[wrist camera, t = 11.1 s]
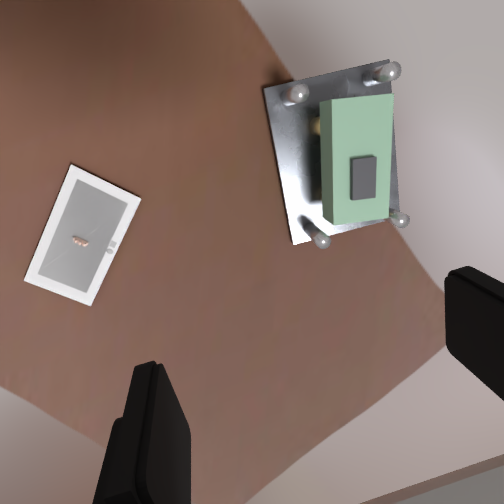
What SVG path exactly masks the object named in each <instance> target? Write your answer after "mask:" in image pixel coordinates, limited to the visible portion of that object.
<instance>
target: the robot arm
mask: <svg viewBox="0 0 504 504" xmlns="http://www.w3.org/2000/svg"><path fill="white" fill-rule="evenodd" d="M444 287H445V328H446V346H447V348H448V350H449V352H450V353H451V354H452V355H453V356H454V357H455V358H456V359H457V360H458V361H460V362H461V363H462V364H463V365H464V366H465V367H466V368H467V369H468V370H470V371H471V372H472V373H473V374H474V375H475V376H476V377H478V378H479V379H480V380H481V381H482V382H483V383H484V384H486V386H488V387H489V388H490V389H491V390H492V391H493V392H494V393H496V394H497V395H498V396H499V397H500V398H501V399H502V400H503V401H504V283H502V282H500V281H498V280H496V279H494V278H492V277H490V276H488V275H487V274H485V273H483V272H480V271H479V270H477V269H475V268H473V267H470V266H465V267H462V268H459V269H456V270H452V271H450V272H449V273H448V277H446V278H445V281H444ZM92 504H191V433H190V428H189V425H188V422H187V420H186V418H185V415H184V413H183V411H182V408H181V406H180V404H179V401H178V399H177V396H176V394H175V392H174V389H173V387H172V385H171V382H170V380H169V378H168V375H167V373H166V370H165V368H164V366H163V364H162V363H160V364H156V362H155V361H150V362H147V363H144V364H140V365H137V366H135V368H134V371H133V375H132V379H131V384H130V388H129V392H128V396H127V401H126V405H125V409H124V413H123V417H121V418H117V419H116V420H115V421H114V424H113V426H112V430H111V434H110V438H109V442H108V446H107V449H106V453H105V458H104V461H103V465H102V469H101V473H100V476H99V480H98V484H97V488H96V492H95V495H94V499H93V503H92ZM360 504H504V454H503V455H500V456H497V457H494V458H491V459H488V460H485V461H482V462H479V463H477V464H473V465H471V466H468V467H465V468H462V469H459V470H456V471H453V472H450V473H447V474H444V475H442V476H438V477H436V478H433V479H430V480H427V481H424V482H421V483H418V484H415V485H412V486H409V487H406V488H404V489H401V490H398V491H395V492H392V493H389V494H387V495H383V496H381V497H378V498H375V499H372V500H369V501H366V502H363V503H360Z"/></svg>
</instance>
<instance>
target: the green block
mask: <svg viewBox="0 0 504 504" xmlns="http://www.w3.org/2000/svg"><path fill="white" fill-rule="evenodd" d="M393 101H394V93H392V94H382V95H372V96H362V97H352V98H341V99H332V100H327V101H323V102H319V103H320V141H321V179H322V217H323V218H324V219H325V220H327V221H328V222H330V223H331V224H332V225H341V224H348V223H355V222H363V221H370V220H377V219H385V218H389V196H390V173H391V149H392V126H393V103H394V102H393Z"/></svg>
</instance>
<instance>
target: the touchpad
mask: <svg viewBox="0 0 504 504" xmlns="http://www.w3.org/2000/svg"><path fill="white" fill-rule="evenodd" d="M140 201H141V198H139V197H137V196H135V195H133V194H131V193H128V192H126V191H124V190H122V189H120V188H118V187H116V186H114V185H112V184H110V183H108V182H106V181H104V180H102V179H100V178H98V177H96V176H94V175H92V174H90V173H88V172H86V171H84V170H82V169H79V168H77V167H75V166H73V165H71V166H70V168H69V171H68V173H67V176H66V178H65V181H64V183H63V186H62V188H61V190H60V193H59V195H58V198H57V200H56V203H55V205H54V208H53V210H52V213H51V215H50V217H49V220H48V222H47V225H46V227H45V230H44V232H43V235H42V237H41V240H40V242H39V244H38V247H37V249H36V252H35V254H34V257H33V259H32V262H31V264H30V267H29V269H28V271H27V274H26V276H25V279H24V281H26V282H29V283H31V284H34V285H36V286H39V287H42V288H44V289H47V290H50V291H52V292H55V293H57V294H60V295H63V296H65V297H68V298H71V299H73V300H76V301H78V302H81V303H84V304H86V305H89V306H91V304H92V302H93V300H94V298H95V296H96V294H97V292H98V290H99V288H100V285H101V283H102V281H103V279H104V277H105V275H106V273H107V271H108V268H109V266H110V264H111V262H112V260H113V258H114V256H115V254H116V252H117V249H118V247H119V245H120V243H121V241H122V239H123V237H124V235H125V232H126V230H127V228H128V226H129V224H130V222H131V220H132V218H133V216H134V213H135V211H136V209H137V207H138V205H139V203H140Z"/></svg>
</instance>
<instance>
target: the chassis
mask: <svg viewBox="0 0 504 504" xmlns="http://www.w3.org/2000/svg"><path fill="white" fill-rule="evenodd" d="M400 74H401V66H400V64H399V63H398V62H391V63H390V60H389V59H387V60H383V61H379V62H375V63H370V64H366V65H362V66H358V67H353V68H349V69H345V70H341V71H336V72H332V73H328V74H324V75H319V76H315V77H311V78H307V79H302V80H298V81H294V82H289V83H285V84H281V85H277V86H272V87H268V88H264V89H262V90H263V95H264V100H265V105H266V111H267V116H268V121H269V126H270V131H271V137H272V142H273V147H274V152H275V158H276V163H277V168H278V173H279V179H280V184H281V189H282V194H283V199H284V205H285V210H286V215H287V220H288V226H289V231H290V236H291V241H292V243H293V245H294V244H298V243H302V242H306V241H310V240H312V241H313V242H314V243H315V244H316V245H317V246H318V247H319V248H321V249H325V248H327V247H329V245H330V243H331V239H330V237H329V235H333V234H337V233H340V232H344V231H348V230H352V229H356V228H360V227H363V226H367V225H371V224H375V223H379V222H383V221H387V222H389V223H391V224H393V225H395V226H397V227H399V228H405V227H406V226H407V225H408V224H409V222H410V218H409V216H408V215H407V214H404V213H402V212H400V210H399V195H398V180H397V165H396V150H395V135H394V120H393V126H392V149H391V173H390V196H389V218H385V219H377V220H370V221H363V222H355V223H348V224H341V225H332V224H331V223H330V222H328V221H327V220H325V219H324V218H323V217H322V179H321V141H320V103H319V102H323V101H327V100H332V99H341V98H352V97H362V96H372V95H382V94H392V90H391V81H393V80H396V79H397V78H398V77H399V76H400Z"/></svg>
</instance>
